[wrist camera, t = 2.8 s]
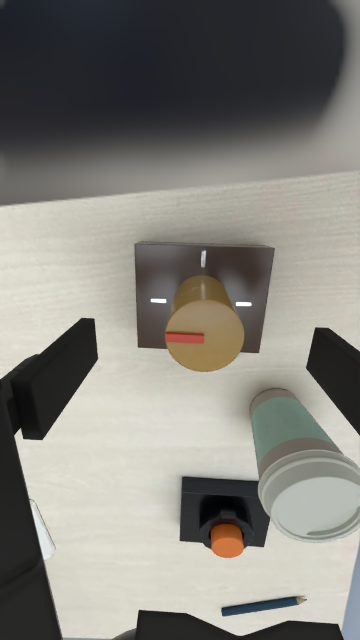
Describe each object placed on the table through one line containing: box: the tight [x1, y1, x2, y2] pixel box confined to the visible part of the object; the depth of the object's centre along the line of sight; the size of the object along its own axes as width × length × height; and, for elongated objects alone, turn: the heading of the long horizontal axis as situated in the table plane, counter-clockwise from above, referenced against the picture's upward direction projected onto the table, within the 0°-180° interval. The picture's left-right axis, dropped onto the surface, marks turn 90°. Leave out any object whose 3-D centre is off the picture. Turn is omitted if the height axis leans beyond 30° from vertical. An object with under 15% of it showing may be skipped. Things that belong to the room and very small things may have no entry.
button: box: [211, 524, 244, 558], centre depth 33 cm, size 4×4×2 cm
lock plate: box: [135, 241, 275, 353], centre depth 25 cm, size 12×10×3 cm
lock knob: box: [165, 275, 244, 372], centre depth 20 cm, size 5×5×8 cm
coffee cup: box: [250, 389, 360, 543], centre depth 26 cm, size 8×9×12 cm
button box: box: [180, 477, 270, 549], centre depth 35 cm, size 12×10×4 cm
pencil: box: [221, 597, 307, 616], centre depth 45 cm, size 1×1×15 cm
